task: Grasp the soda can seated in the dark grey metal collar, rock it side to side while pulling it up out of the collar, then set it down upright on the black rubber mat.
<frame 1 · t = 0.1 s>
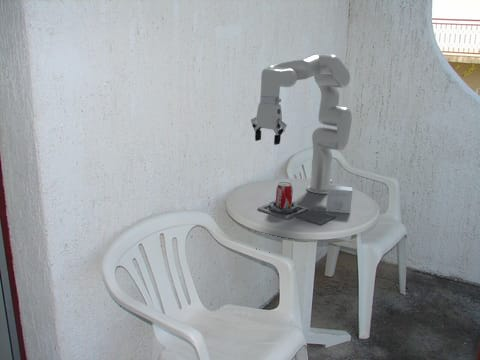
hand: (267, 142, 189), 31 cm above the table, fingers open, 9 cm apart
collar: (283, 209, 202), on the table
skincare box: (338, 210, 205), on the table
soda can: (283, 210, 202), resting in collar
mat: (315, 217, 195), on the table
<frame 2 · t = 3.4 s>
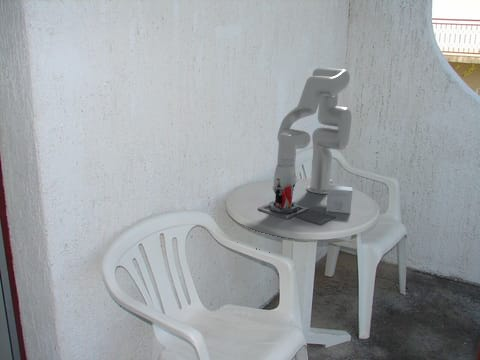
hand: (283, 200, 201), 4 cm above the table, fingers closed on soda can, 6 cm apart
soda can: (283, 210, 202), resting in collar, touching gripper
everything else where it was.
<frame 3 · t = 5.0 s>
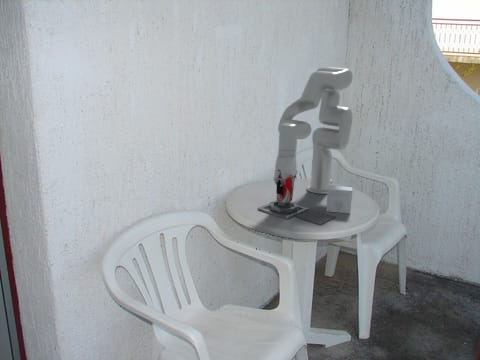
hand: (284, 191, 200), 8 cm above the table, fingers closed on soda can, 6 cm apart
soda can: (284, 201, 202), point 4 cm above the table, touching gripper
everything else where it was.
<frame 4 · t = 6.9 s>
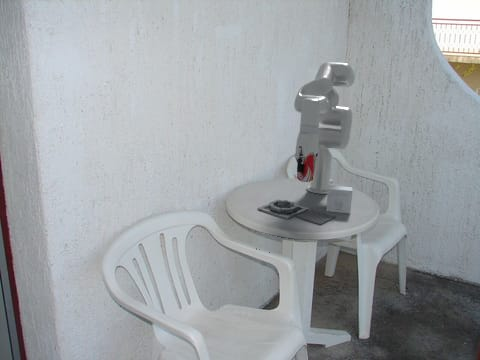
hand: (305, 170, 192), 20 cm above the table, fingers closed on soda can, 6 cm apart
soda can: (305, 180, 194), point 15 cm above the table, touching gripper
everything else where it was.
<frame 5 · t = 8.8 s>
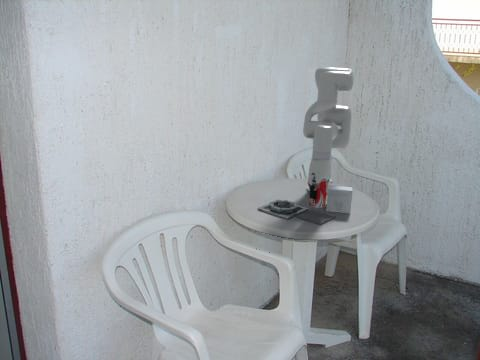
hand: (317, 196, 192), 9 cm above the table, fingers closed on soda can, 6 cm apart
soda can: (316, 206, 193), point 5 cm above the table, touching gripper
everything else where it was.
when the fingers open (6 cm above the table, at t = 10.4 s): soda can stays where it is, resting on mat.
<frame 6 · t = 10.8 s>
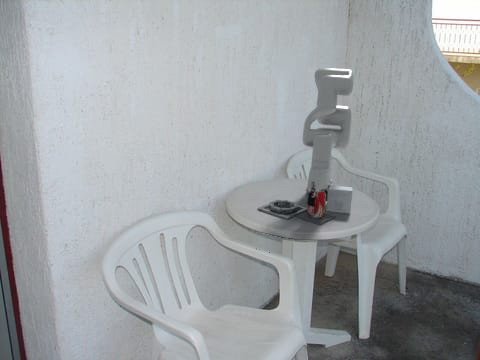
hand: (317, 203, 193), 7 cm above the table, fingers open, 9 cm apart
soda can: (315, 216, 195), resting on mat
everything else where it was.
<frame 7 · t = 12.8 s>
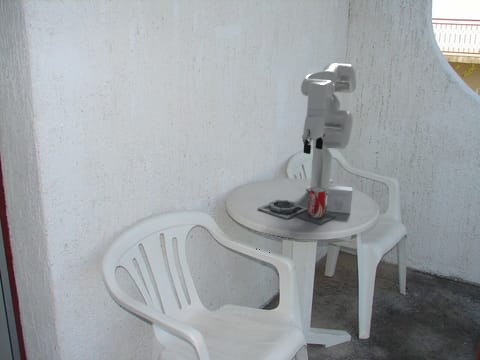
hand: (313, 151, 200), 26 cm above the table, fingers open, 9 cm apart
nothing on the table moved.
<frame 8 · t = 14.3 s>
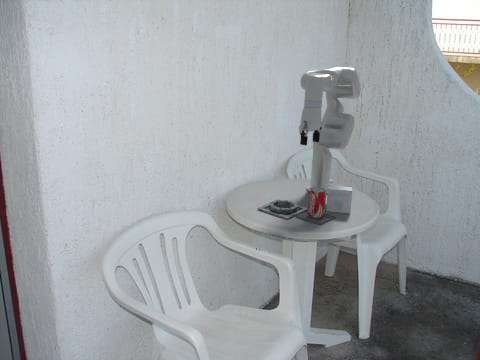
hand: (309, 143, 203), 28 cm above the table, fingers open, 9 cm apart
nothing on the table moved.
at the end: soda can 0.1 cm from the mat (horizontally); soda can tilted 0°; the gripper is holding nothing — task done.
